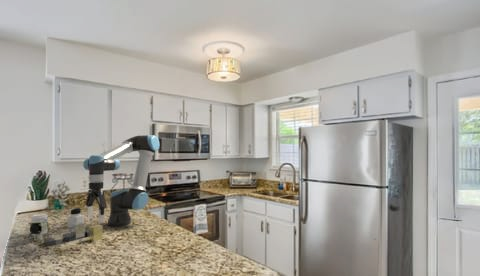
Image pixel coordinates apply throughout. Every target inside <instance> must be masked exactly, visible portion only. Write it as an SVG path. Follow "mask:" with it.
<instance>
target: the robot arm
mask: <svg viewBox="0 0 480 276" xmlns="http://www.w3.org/2000/svg"><path fill="white" fill-rule="evenodd" d="M158 150H160V141H159V138H158V137H157V136H156V135H152V134H149V135H135V136H132V137H130V138H128V139H126V140H124V141H122V142H121V144H118V145H117V146H114V147H113V148H111V149H108V150H106V151H105V152H103V153H100V154H99V155H93V154H92V155H89V158H86V159H85V160H84V161H83V164H82V166H83V168H84V170H87V171H88V182H89V183H88V191H87V196H86V201H85V205H86V207H87V212H86V213H87V214H86V215H87V219H91V218H93V215H94V214H93V213H94V212H93V211H94V202H95V201H96V202H97V205H98V222H103V221H105V209H107V207H108V206H107V202H106V197H105V190H102V189H104V172H105V171H106V172H108V171H112V172H113V171H117V170H119V169H120V166H121V161H120V160H119V158H121V157H123V156H125V155H126V154H130V153H133V152H138V154H139V156H138V161H137V165H136V169H135V173H134V178H133V181H132V185H131V186H130V187H129V189H121V190H115V191H112V192H111V193H110V199H109V201H110V204H109V205H110V208H109V209H110V214H109V216H108V220H107V226H109V227H123V226H126V225H130V224H131V223H132V218H131V215H130V213H129V210H134V211H137V210H138V211H141V210H143V209H144V208H146V207H147V205H148V203H149V199H150V198H149V194H148V193H147V189H146V187H147V186H146V185H147V180H148V175H149V172H150V168H151V167H150V165H151V161H152V157H153V156H155V153H156V151H158Z"/></svg>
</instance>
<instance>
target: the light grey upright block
mask: <svg viewBox="0 0 480 276" xmlns="http://www.w3.org/2000/svg"><path fill="white" fill-rule="evenodd" d="M85 229H86V223H85V222H84V223H83V222H78V223H73V224H72V228H71V234H74V235H76V239H78V238H82V237H85ZM82 239H83V238H82ZM78 240H79V239H78Z"/></svg>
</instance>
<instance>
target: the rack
mask: <svg viewBox="0 0 480 276" xmlns="http://www.w3.org/2000/svg"><path fill="white" fill-rule="evenodd" d="M85 238H89V229H87V228H85V237H82V238H78V239H76V235H74V234H72V232H65V233H62V238H60V239H55V238H53V237H49V236H48V237H43V244H44V245H47V246H48V247H53V246H58V245H62V244H65V243H69V242H74V241H77V240H81V239H85Z"/></svg>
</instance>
